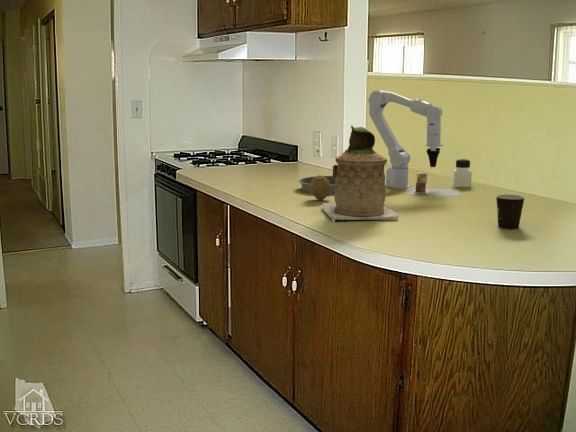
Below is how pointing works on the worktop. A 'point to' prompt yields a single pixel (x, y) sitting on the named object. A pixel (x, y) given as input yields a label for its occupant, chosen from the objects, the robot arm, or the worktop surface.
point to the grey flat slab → (434, 192)
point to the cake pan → (306, 181)
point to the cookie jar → (359, 182)
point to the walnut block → (421, 187)
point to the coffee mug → (509, 210)
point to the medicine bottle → (462, 173)
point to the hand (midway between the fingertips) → (433, 165)
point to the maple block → (421, 177)
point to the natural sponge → (320, 187)
